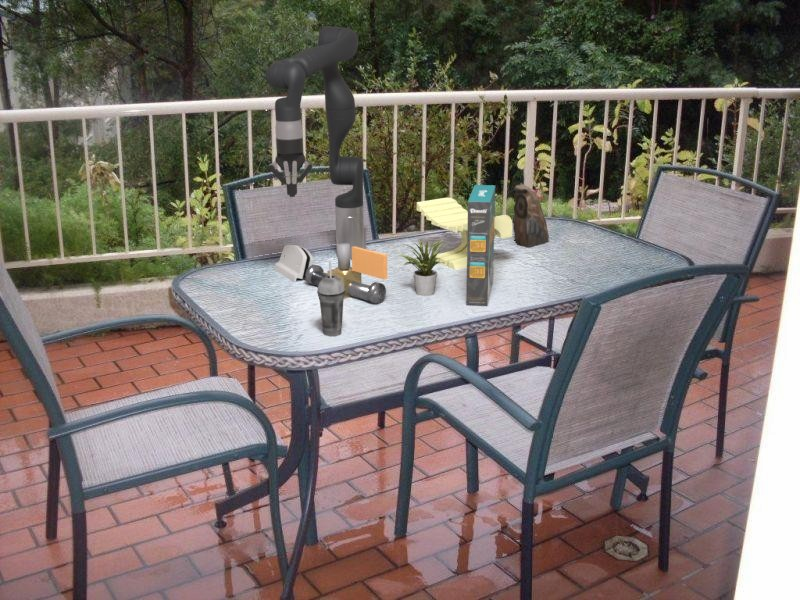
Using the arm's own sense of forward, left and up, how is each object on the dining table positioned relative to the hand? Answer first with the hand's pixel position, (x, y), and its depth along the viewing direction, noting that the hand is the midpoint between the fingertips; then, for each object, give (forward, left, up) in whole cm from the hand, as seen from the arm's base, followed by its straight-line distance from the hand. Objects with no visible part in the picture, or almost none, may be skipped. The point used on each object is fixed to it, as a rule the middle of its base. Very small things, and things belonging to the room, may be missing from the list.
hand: (292, 196), depth 265 cm
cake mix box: (-34, +42, -29) cm, 61 cm away
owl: (-90, +21, -29) cm, 97 cm away
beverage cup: (+17, +33, -29) cm, 47 cm away
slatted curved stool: (-57, +17, -29) cm, 66 cm away
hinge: (-11, -14, -29) cm, 34 cm away
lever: (-8, +20, -21) cm, 30 cm away
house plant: (-25, +29, -29) cm, 48 cm away
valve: (-8, +12, -29) cm, 32 cm away
